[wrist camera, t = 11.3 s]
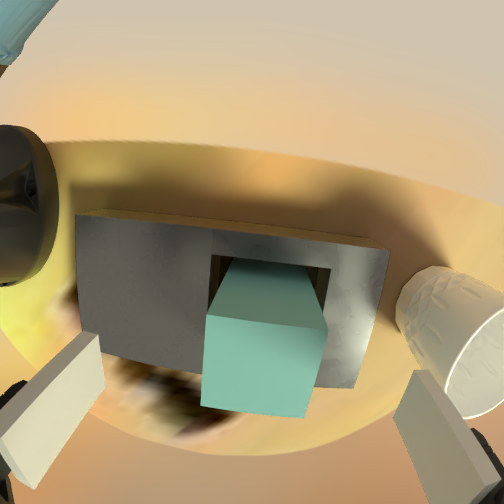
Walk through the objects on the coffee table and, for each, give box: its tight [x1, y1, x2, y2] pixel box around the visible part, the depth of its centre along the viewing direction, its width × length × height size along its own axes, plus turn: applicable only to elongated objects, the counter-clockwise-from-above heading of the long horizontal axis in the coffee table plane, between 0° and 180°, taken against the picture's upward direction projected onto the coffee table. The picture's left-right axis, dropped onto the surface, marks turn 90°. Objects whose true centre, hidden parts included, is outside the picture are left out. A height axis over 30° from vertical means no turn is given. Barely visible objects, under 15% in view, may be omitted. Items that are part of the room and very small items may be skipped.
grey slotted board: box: [75, 208, 390, 388], centre depth 21 cm, size 20×10×4 cm, turn 83°
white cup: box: [395, 266, 504, 419], centre depth 17 cm, size 8×8×10 cm
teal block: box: [201, 257, 329, 418], centre depth 18 cm, size 5×5×10 cm
